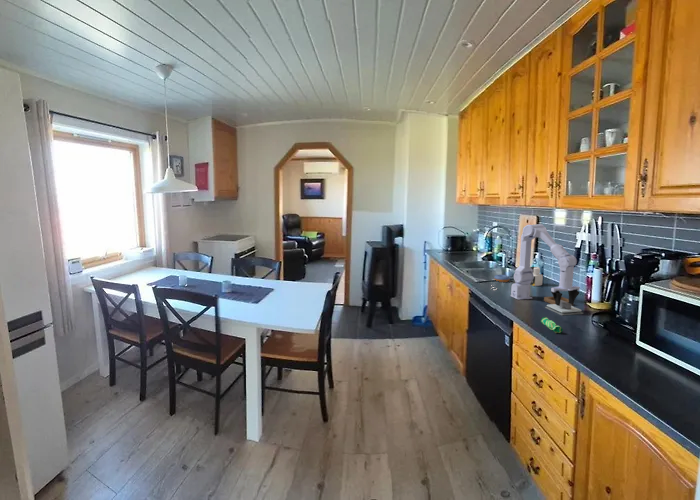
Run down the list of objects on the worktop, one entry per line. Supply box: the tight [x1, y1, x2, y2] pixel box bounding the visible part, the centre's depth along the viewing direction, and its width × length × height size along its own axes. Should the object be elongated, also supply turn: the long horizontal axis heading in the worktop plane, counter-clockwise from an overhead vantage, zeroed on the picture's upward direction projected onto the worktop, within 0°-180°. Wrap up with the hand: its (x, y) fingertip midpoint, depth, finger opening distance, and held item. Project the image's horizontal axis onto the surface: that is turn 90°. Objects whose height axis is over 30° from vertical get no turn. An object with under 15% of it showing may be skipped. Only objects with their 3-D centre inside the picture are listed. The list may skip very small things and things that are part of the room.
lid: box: [546, 300, 582, 313], centre depth 178 cm, size 11×11×4 cm
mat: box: [545, 306, 584, 316], centre depth 178 cm, size 12×12×1 cm
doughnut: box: [493, 274, 510, 283], centre depth 242 cm, size 10×10×5 cm
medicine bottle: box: [530, 266, 544, 287], centre depth 229 cm, size 7×7×12 cm
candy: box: [540, 316, 564, 334], centre depth 155 cm, size 12×3×4 cm
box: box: [543, 296, 574, 307], centre depth 190 cm, size 10×10×2 cm
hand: (564, 304), depth 177 cm, fingers open, 7 cm apart
